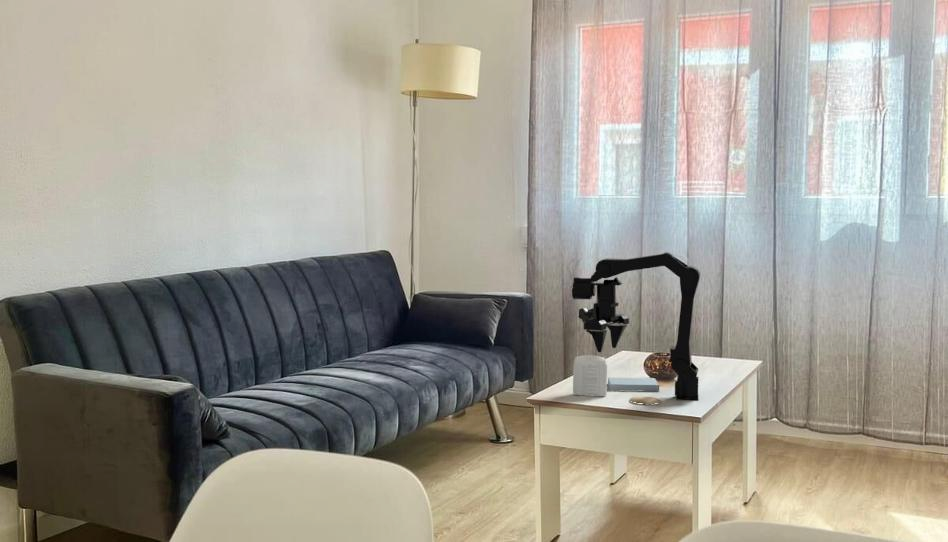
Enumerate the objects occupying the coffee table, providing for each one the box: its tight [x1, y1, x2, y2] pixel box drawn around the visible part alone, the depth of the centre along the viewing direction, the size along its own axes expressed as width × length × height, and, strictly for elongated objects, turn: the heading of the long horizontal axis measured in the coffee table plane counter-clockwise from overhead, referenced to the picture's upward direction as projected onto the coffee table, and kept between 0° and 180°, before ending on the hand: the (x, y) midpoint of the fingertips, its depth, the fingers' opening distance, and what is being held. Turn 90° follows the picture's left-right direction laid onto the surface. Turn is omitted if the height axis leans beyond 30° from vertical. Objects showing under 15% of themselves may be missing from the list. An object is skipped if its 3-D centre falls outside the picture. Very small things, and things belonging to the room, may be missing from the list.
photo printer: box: [572, 354, 608, 397], centre depth 281 cm, size 10×4×12 cm, turn 79°
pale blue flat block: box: [607, 376, 660, 392], centre depth 293 cm, size 15×11×2 cm
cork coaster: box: [629, 396, 662, 404], centre depth 273 cm, size 9×9×1 cm
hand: (606, 350), depth 284 cm, fingers open, 9 cm apart
